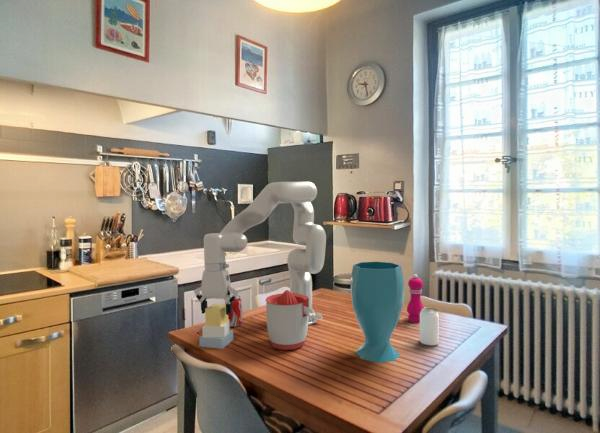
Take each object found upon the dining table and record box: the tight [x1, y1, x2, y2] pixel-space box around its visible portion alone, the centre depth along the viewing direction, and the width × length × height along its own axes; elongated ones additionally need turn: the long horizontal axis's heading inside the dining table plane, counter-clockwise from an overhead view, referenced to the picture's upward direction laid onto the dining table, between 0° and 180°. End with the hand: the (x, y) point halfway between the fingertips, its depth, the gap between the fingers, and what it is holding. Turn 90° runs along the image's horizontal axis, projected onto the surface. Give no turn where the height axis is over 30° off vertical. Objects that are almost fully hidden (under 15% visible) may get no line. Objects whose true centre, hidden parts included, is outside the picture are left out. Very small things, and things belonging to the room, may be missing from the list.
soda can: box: [224, 294, 243, 328], centre depth 155 cm, size 7×7×12 cm
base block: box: [199, 329, 234, 350], centre depth 135 cm, size 9×9×4 cm
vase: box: [350, 261, 405, 364], centre depth 123 cm, size 17×17×30 cm
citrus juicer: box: [265, 289, 314, 351], centre depth 132 cm, size 16×17×20 cm
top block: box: [202, 319, 231, 338], centre depth 135 cm, size 8×8×4 cm
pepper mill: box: [406, 273, 425, 323], centre depth 157 cm, size 7×7×20 cm
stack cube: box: [204, 303, 228, 326], centre depth 135 cm, size 6×6×6 cm
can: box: [419, 307, 440, 347], centre depth 132 cm, size 6×6×12 cm
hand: (216, 313), depth 135 cm, fingers open, 9 cm apart
